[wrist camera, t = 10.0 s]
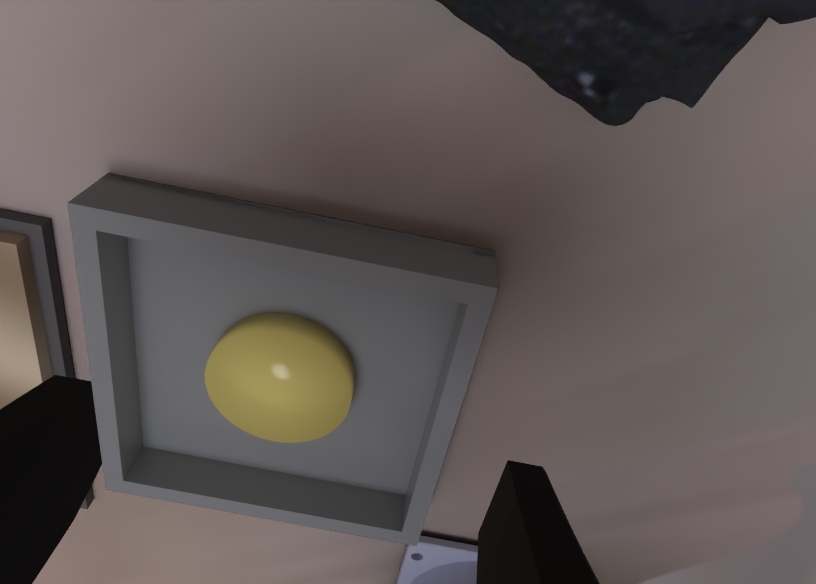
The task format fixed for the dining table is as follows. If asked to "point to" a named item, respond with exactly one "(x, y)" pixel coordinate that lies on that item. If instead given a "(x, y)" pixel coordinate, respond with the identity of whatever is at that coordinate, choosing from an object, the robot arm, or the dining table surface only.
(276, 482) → the dish
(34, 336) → the lid
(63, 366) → the mat
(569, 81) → the dark slate chunk
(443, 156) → the dining table surface
